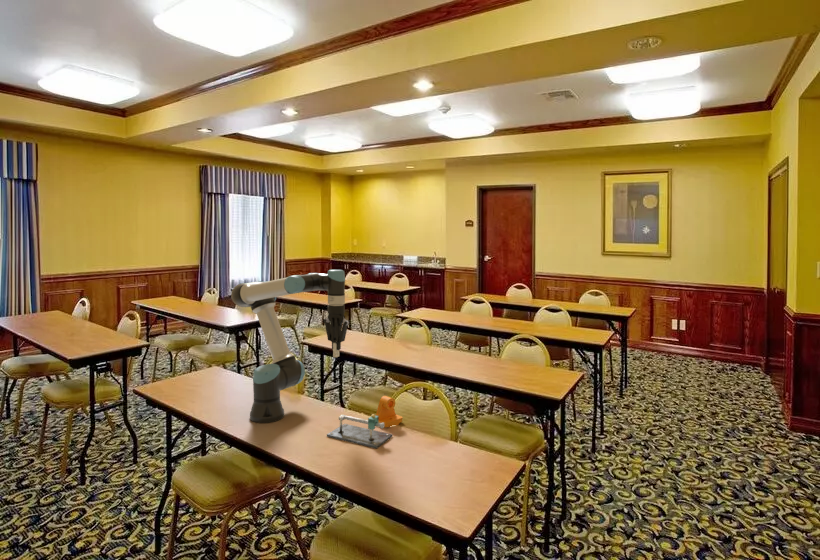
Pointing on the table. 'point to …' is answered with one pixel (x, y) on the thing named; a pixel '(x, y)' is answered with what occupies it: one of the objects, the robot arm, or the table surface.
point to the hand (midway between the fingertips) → (336, 356)
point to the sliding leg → (372, 423)
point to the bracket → (387, 412)
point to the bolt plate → (360, 436)
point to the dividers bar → (357, 421)
